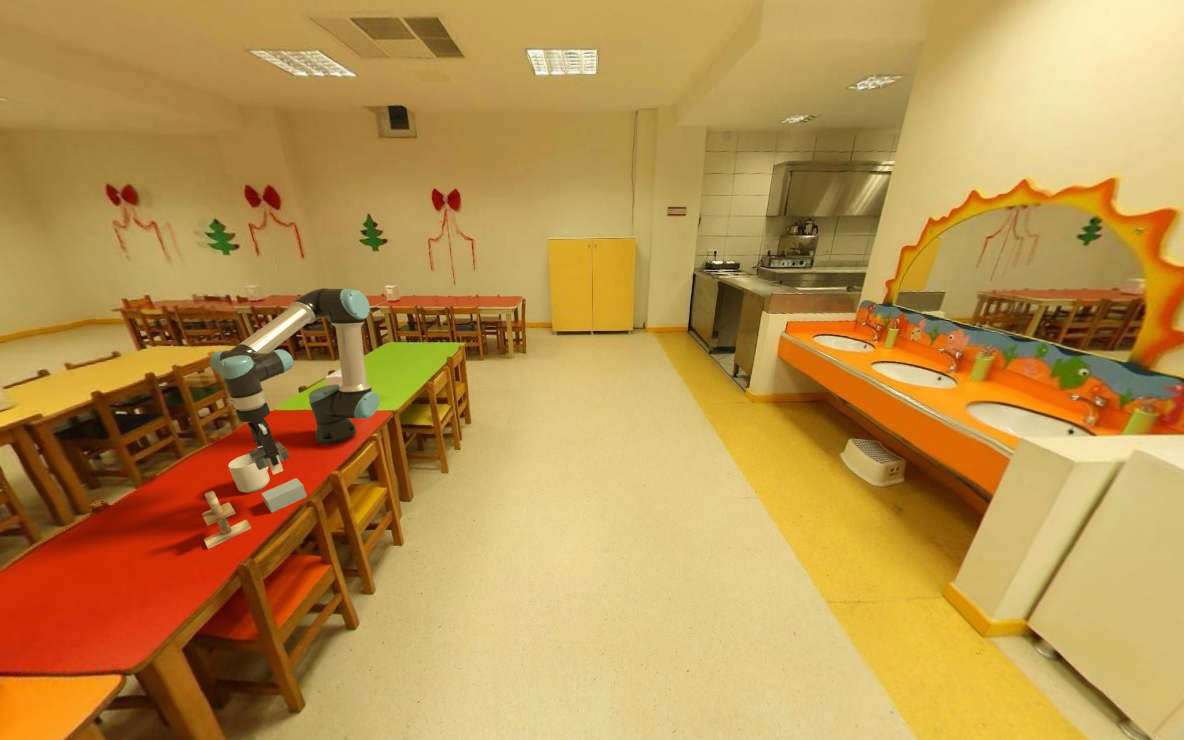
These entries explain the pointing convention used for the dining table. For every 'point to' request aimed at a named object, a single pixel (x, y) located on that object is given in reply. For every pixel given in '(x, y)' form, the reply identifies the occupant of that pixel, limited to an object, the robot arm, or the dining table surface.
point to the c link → (259, 455)
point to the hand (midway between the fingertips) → (273, 467)
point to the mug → (248, 474)
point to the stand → (221, 521)
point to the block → (284, 495)
